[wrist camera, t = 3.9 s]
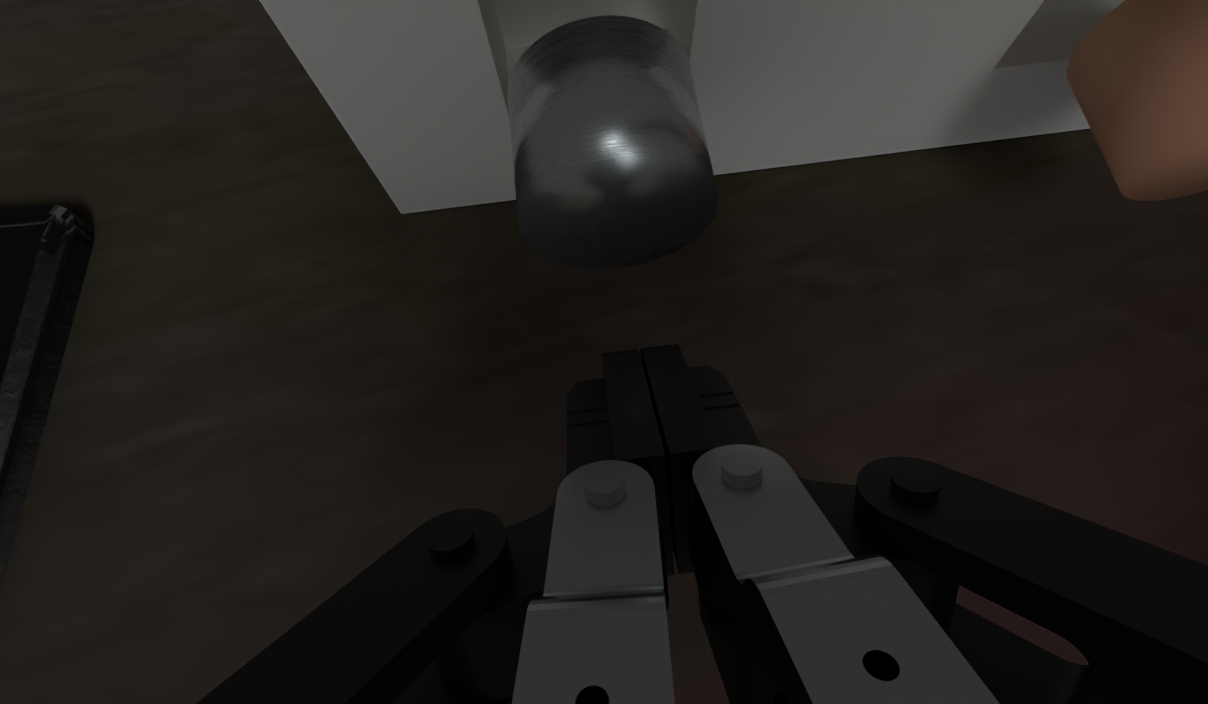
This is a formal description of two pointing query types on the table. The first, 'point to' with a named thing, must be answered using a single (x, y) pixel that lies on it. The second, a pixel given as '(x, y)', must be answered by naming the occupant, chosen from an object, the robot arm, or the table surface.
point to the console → (720, 72)
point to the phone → (33, 337)
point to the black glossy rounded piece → (608, 145)
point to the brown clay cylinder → (1148, 95)
